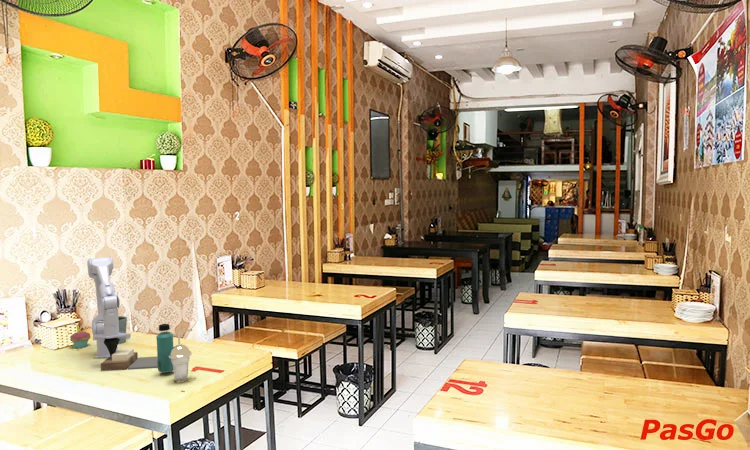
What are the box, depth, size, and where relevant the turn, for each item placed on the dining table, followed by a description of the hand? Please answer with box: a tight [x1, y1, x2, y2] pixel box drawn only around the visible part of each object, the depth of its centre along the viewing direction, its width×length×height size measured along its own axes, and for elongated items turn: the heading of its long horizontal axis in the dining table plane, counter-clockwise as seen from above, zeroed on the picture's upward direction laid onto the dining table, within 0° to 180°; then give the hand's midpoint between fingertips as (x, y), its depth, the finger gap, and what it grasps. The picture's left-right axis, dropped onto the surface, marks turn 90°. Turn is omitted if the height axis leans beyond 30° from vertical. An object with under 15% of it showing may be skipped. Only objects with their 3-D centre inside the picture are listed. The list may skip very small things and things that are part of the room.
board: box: [100, 351, 139, 372], centre depth 222 cm, size 14×10×3 cm
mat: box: [127, 356, 158, 370], centre depth 224 cm, size 14×12×1 cm
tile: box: [112, 348, 135, 361], centre depth 222 cm, size 8×6×2 cm
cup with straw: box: [168, 328, 193, 383], centre depth 202 cm, size 8×9×20 cm
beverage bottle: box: [155, 323, 174, 373], centre depth 210 cm, size 6×7×20 cm
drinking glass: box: [118, 315, 128, 345], centre depth 256 cm, size 10×10×12 cm
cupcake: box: [69, 323, 91, 349], centre depth 251 cm, size 9×8×12 cm
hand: (112, 355), depth 222 cm, fingers closed
